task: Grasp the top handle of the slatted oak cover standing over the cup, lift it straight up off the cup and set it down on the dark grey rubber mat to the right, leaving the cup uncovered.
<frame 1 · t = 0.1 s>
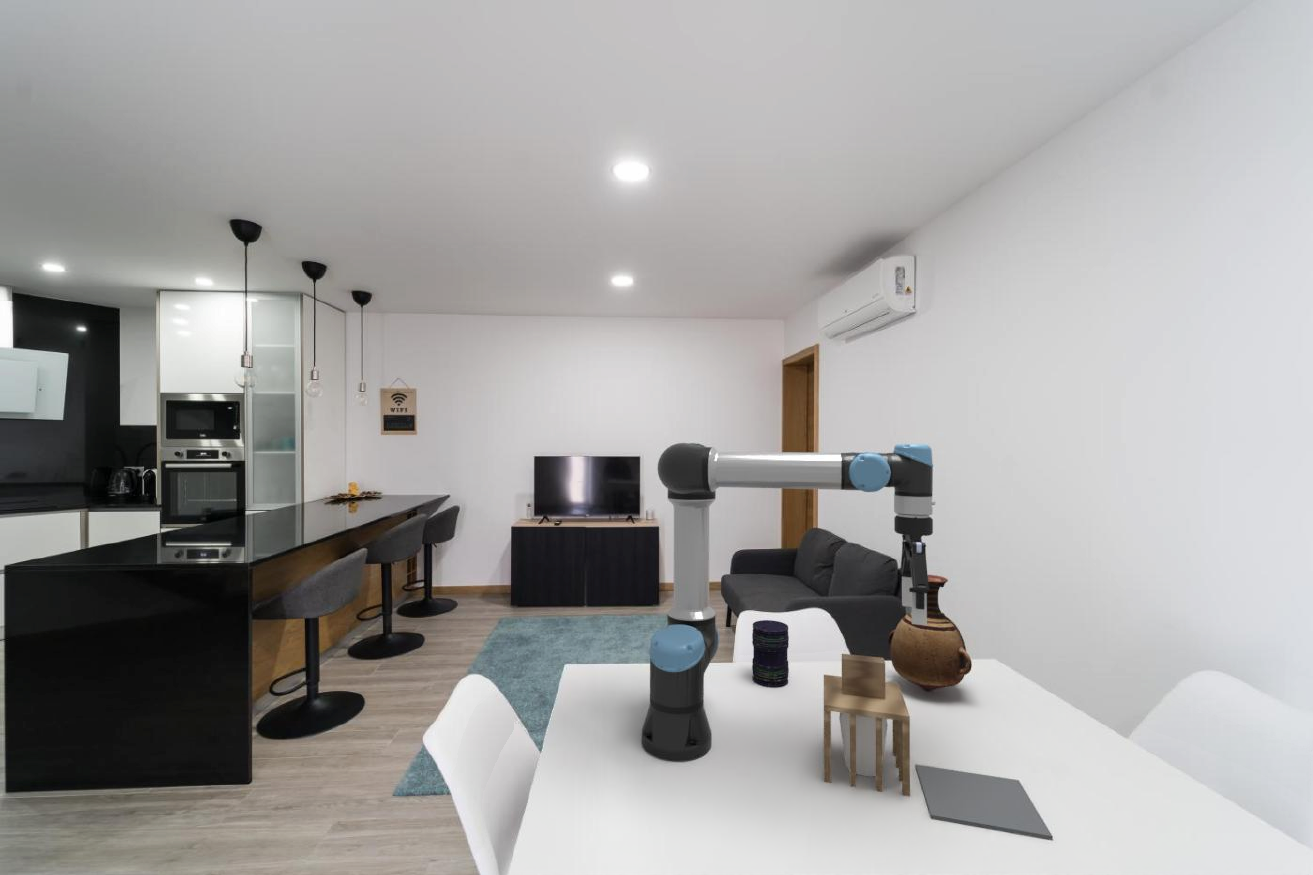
hand: (913, 614, 118), 28 cm above the table, fingers open, 13 cm apart
cup: (863, 768, 110), on the table
mat: (977, 799, 100), on the table
vase: (928, 691, 146), on the table
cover: (863, 767, 110), on the table
dark blue cylinder: (770, 681, 152), on the table
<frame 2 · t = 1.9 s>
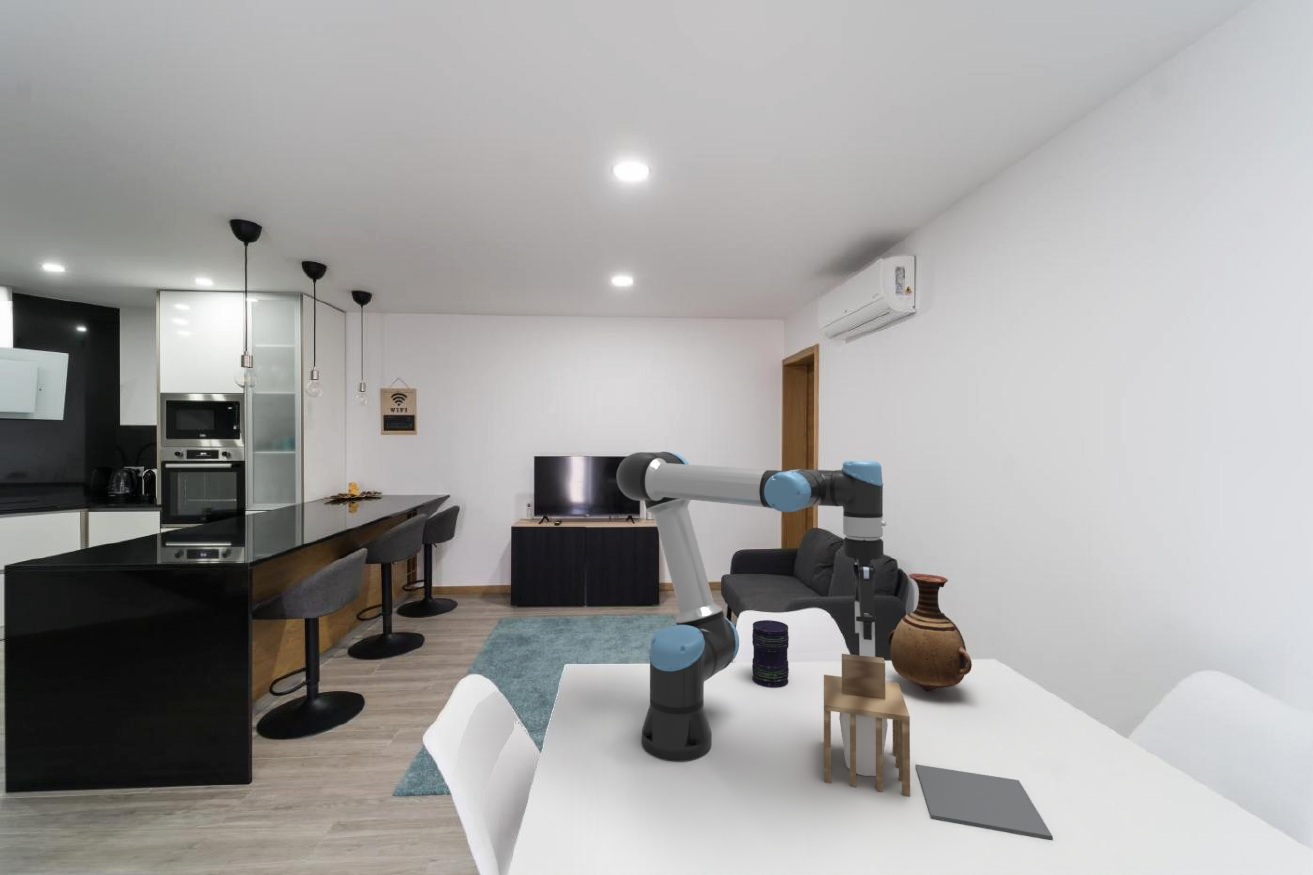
hand: (864, 643, 110), 24 cm above the table, fingers open, 13 cm apart
nothing on the table moved.
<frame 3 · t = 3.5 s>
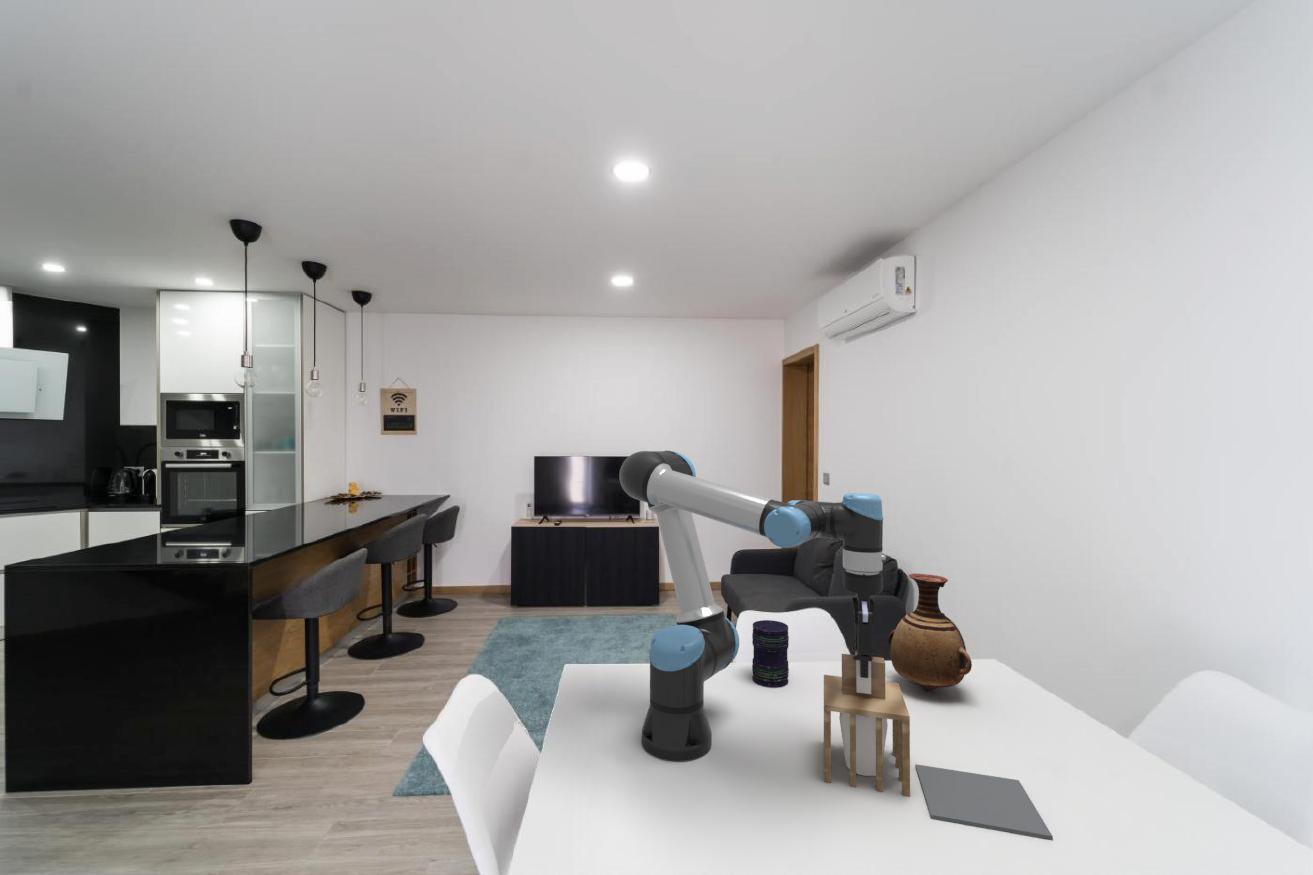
hand: (863, 688, 110), 16 cm above the table, fingers closed on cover, 3 cm apart
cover: (863, 767, 110), on the table, touching gripper
everything else where it was.
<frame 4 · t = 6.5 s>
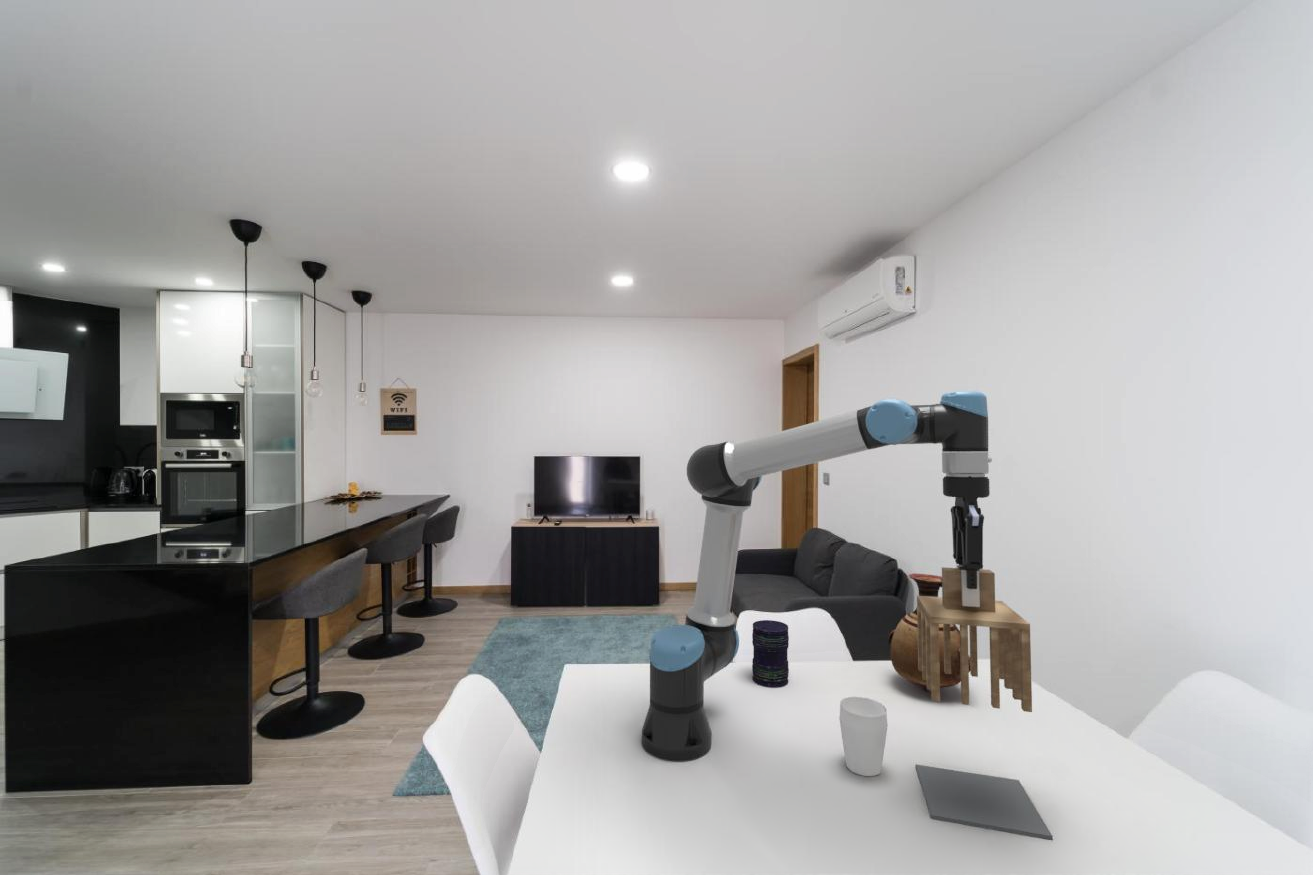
hand: (968, 603, 101), 35 cm above the table, fingers closed on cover, 3 cm apart
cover: (969, 688, 101), point 20 cm above the table, touching gripper
everything else where it was.
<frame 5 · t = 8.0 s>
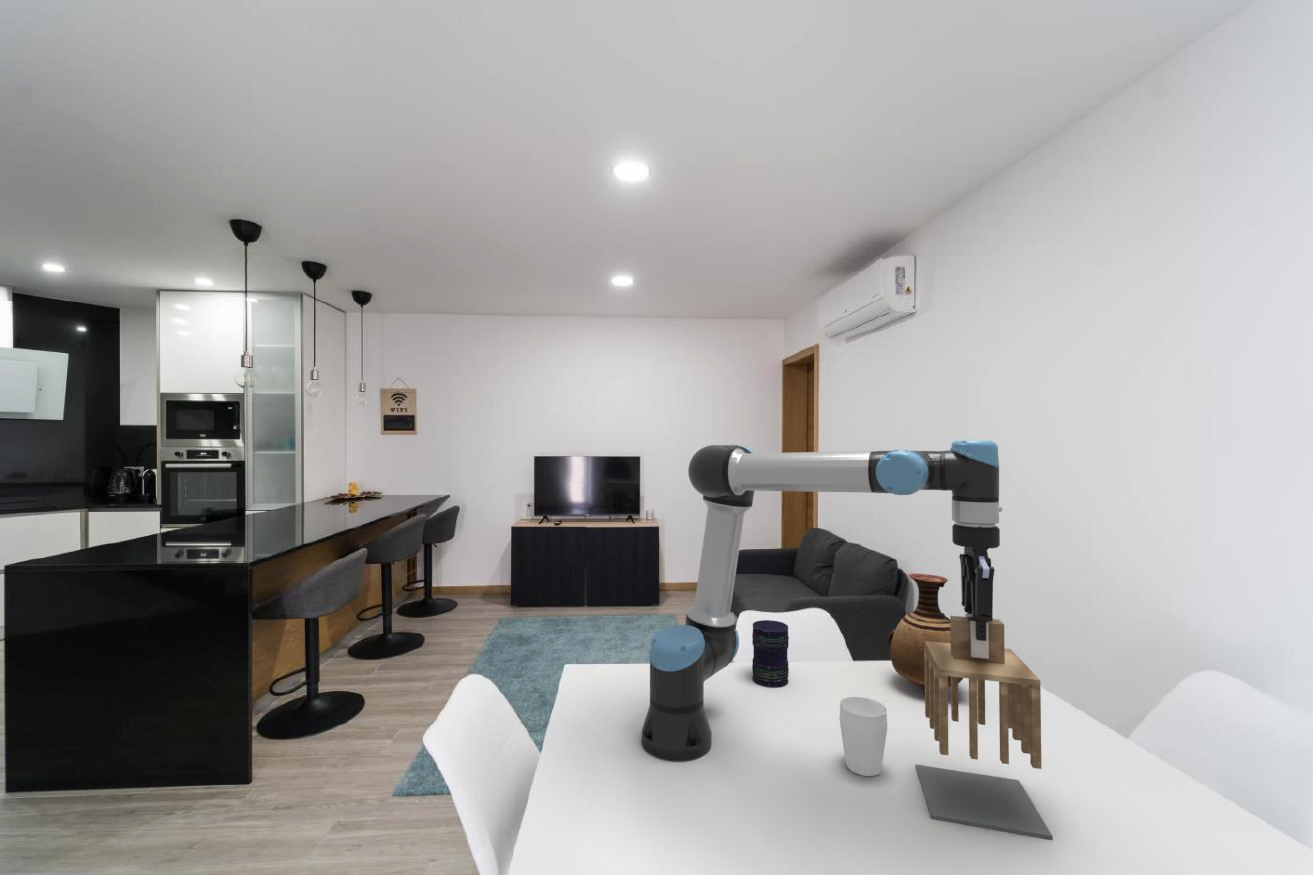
hand: (976, 653, 100), 26 cm above the table, fingers closed on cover, 3 cm apart
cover: (977, 739, 100), point 11 cm above the table, touching gripper
everything else where it was.
when the fingers open (17 cm above the table, at t = 9.5 s): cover drops 1 cm, resting on mat.
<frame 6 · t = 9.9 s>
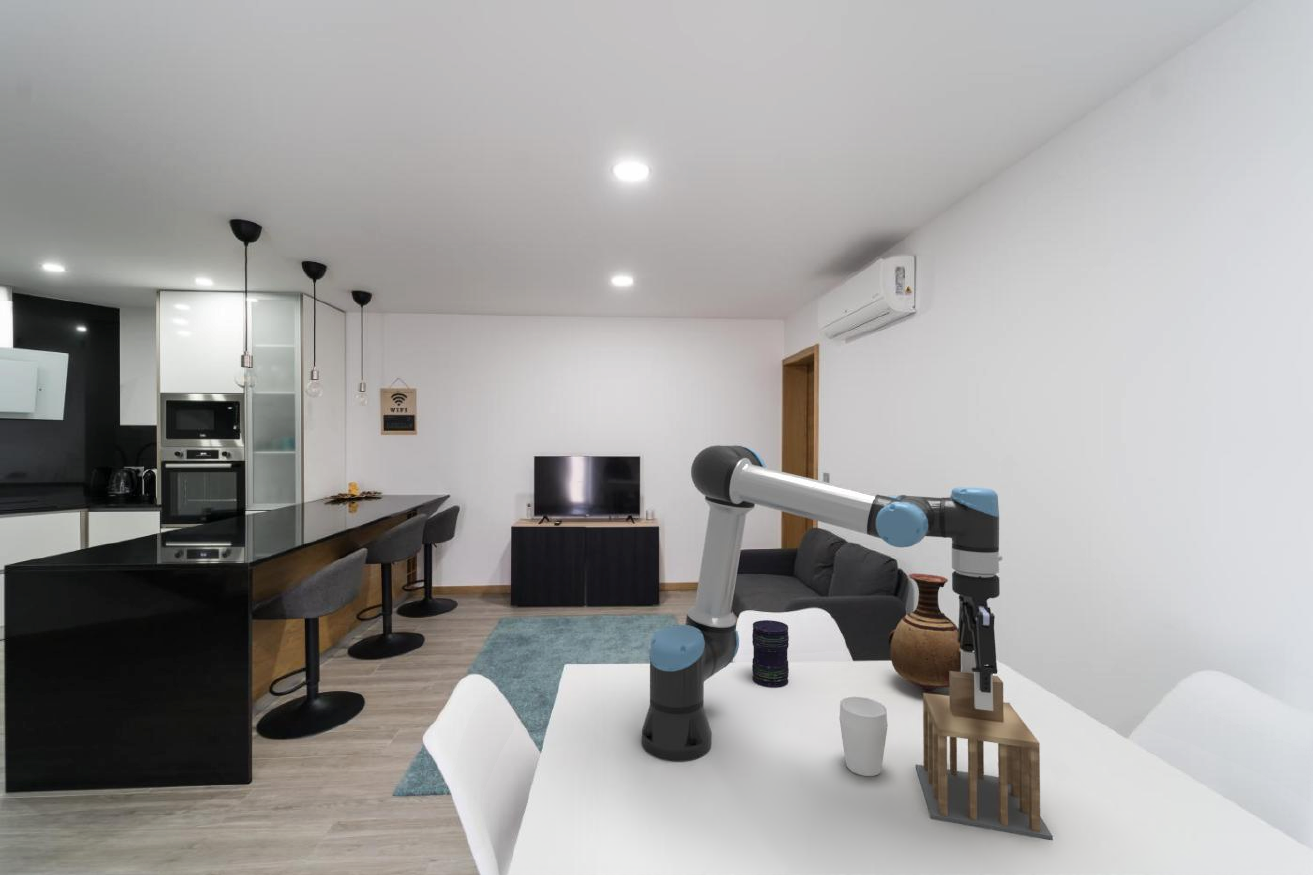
hand: (976, 697, 100), 18 cm above the table, fingers open, 9 cm apart
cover: (976, 796, 100), point 1 cm above the table, touching mat
everything else where it was.
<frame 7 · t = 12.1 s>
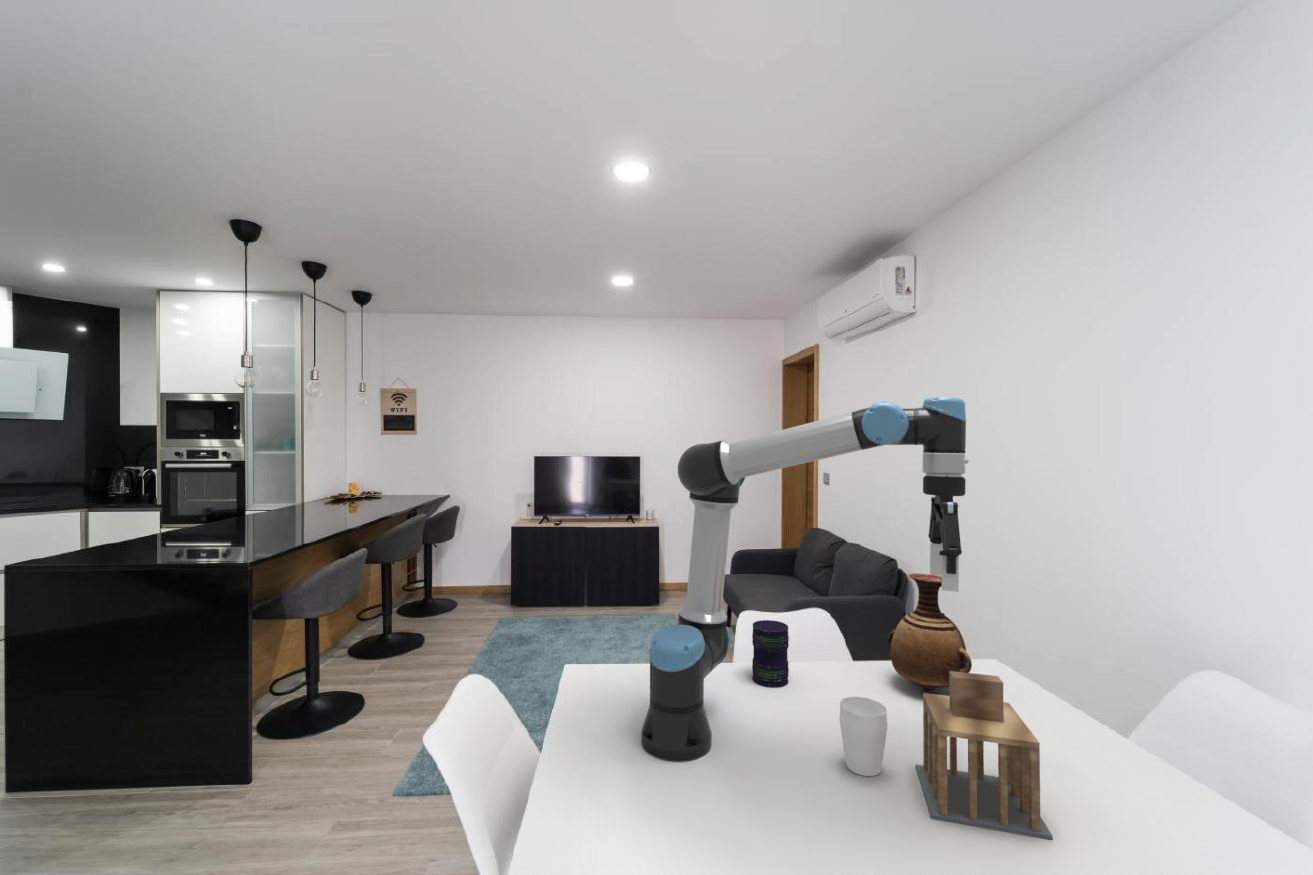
hand: (943, 582, 109), 37 cm above the table, fingers open, 13 cm apart
nothing on the table moved.
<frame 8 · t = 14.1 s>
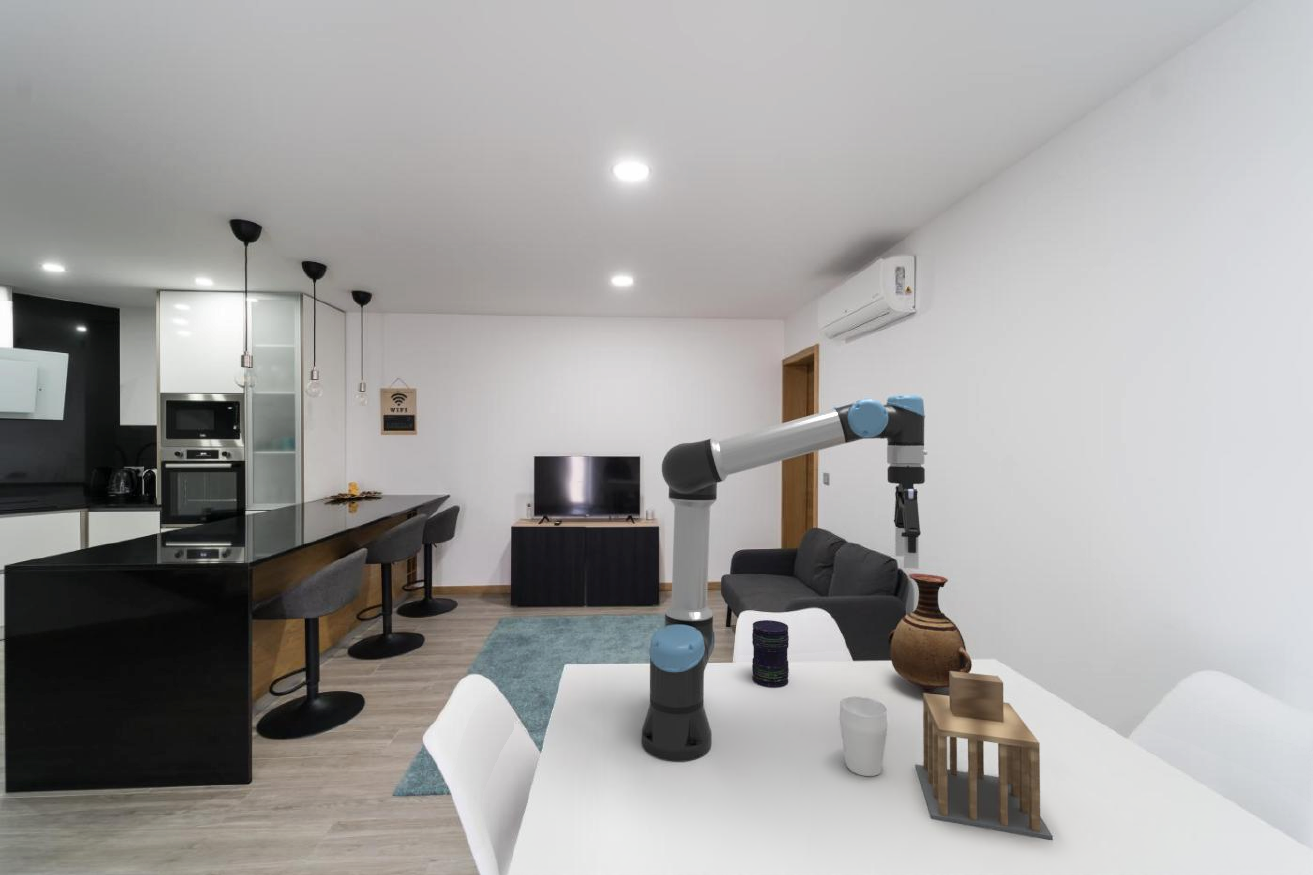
hand: (906, 562, 122), 39 cm above the table, fingers open, 13 cm apart
nothing on the table moved.
at the end: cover inside the target area on the mat (0.1 cm from its centre), point 0.6 cm above the mat's base; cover tilted 0°; cup moved 0.2 cm from its start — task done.
